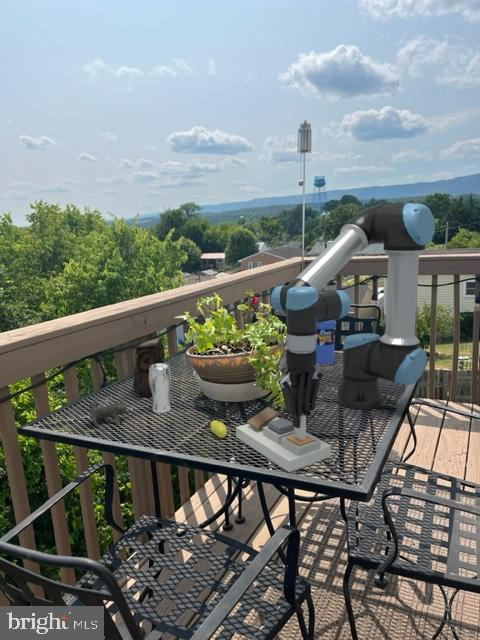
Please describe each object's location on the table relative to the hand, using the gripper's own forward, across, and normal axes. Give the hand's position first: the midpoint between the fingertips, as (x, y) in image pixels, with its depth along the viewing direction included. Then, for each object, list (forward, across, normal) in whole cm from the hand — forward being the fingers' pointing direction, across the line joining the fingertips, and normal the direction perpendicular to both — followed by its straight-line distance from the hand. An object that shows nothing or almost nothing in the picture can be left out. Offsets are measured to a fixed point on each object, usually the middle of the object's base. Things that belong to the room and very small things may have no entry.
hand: (300, 437), depth 123 cm
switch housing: (+6, 0, -8) cm, 10 cm away
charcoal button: (+1, 0, -8) cm, 8 cm away
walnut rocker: (+1, 0, -16) cm, 16 cm away
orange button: (+3, 0, 0) cm, 3 cm away
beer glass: (+6, +16, -52) cm, 54 cm away
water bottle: (+6, -63, -58) cm, 86 cm away
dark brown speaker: (+6, +13, -70) cm, 71 cm away
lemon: (+6, +10, -24) cm, 27 cm away
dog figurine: (+6, +33, -51) cm, 61 cm away
